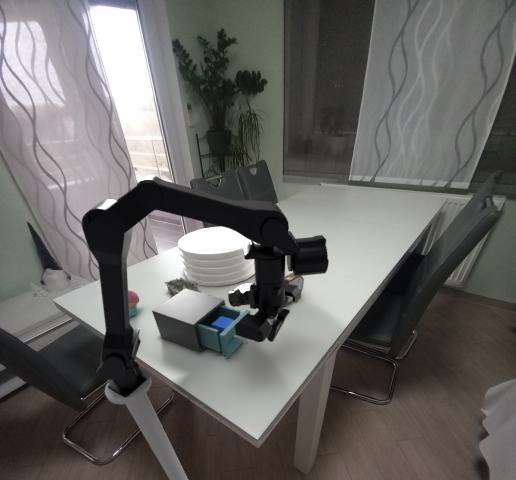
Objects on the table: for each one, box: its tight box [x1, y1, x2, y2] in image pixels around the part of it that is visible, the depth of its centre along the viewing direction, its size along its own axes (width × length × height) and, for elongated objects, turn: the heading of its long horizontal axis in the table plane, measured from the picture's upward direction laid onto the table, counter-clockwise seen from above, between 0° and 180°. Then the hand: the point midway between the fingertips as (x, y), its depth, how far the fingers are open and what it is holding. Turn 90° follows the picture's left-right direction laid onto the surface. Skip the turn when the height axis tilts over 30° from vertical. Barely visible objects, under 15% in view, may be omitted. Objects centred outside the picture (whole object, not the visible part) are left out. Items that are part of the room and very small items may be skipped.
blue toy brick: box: [212, 316, 235, 335], centre depth 68 cm, size 4×4×4 cm
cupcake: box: [128, 289, 140, 318], centre depth 80 cm, size 9×8×12 cm
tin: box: [285, 272, 305, 306], centre depth 81 cm, size 15×3×8 cm, turn 134°
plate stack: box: [177, 226, 258, 287], centre depth 102 cm, size 28×28×12 cm
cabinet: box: [151, 289, 226, 353], centre depth 72 cm, size 14×13×9 cm
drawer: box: [196, 305, 252, 359], centre depth 68 cm, size 17×11×7 cm
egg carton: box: [164, 277, 199, 296], centre depth 91 cm, size 11×8×4 cm
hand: (271, 340), depth 62 cm, fingers closed
